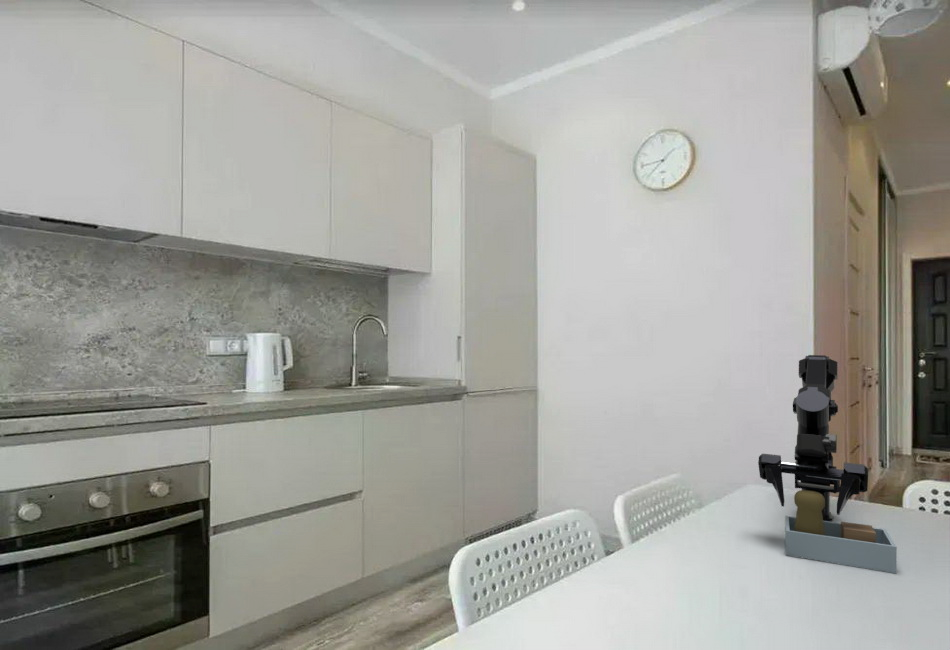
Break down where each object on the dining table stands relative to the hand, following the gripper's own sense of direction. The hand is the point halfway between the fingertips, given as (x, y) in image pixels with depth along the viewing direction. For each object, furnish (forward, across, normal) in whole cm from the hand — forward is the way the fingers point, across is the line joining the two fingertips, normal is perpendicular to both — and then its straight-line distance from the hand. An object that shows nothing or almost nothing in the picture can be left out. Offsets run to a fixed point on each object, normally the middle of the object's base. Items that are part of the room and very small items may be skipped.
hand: (809, 509), depth 113 cm
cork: (+5, 0, +7) cm, 8 cm away
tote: (+4, +4, +8) cm, 10 cm away
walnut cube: (+3, +8, +8) cm, 12 cm away
